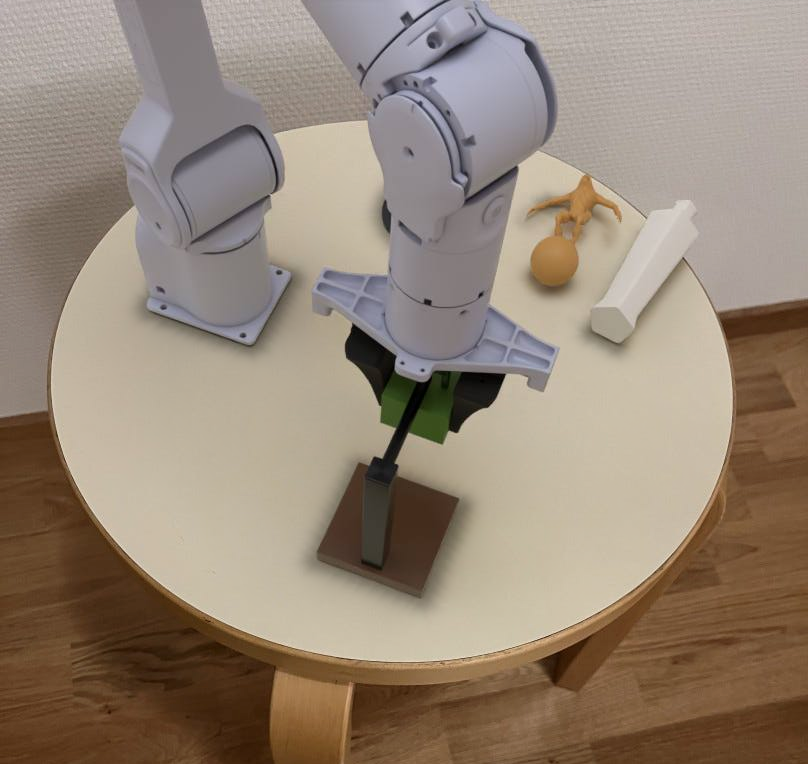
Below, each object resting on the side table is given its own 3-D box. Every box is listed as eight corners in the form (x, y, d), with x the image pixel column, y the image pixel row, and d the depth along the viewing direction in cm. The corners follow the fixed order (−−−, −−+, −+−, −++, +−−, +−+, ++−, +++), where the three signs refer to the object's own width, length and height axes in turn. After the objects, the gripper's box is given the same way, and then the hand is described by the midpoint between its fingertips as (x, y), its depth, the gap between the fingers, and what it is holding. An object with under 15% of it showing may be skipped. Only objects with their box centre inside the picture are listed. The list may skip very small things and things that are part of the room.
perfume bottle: (644, 347, 73) (716, 230, 79) (628, 303, 70) (704, 186, 76) (595, 346, 76) (668, 234, 82) (578, 304, 73) (655, 192, 79)
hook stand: (316, 559, 65) (310, 464, 52) (363, 458, 68) (367, 347, 56) (420, 598, 64) (438, 511, 51) (462, 494, 68) (488, 390, 55)
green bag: (379, 422, 59) (382, 379, 55) (403, 371, 61) (408, 325, 56) (442, 445, 59) (450, 403, 54) (464, 393, 60) (474, 348, 56)
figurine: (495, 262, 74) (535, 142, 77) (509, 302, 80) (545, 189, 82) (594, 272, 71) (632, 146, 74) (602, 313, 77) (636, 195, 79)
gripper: (284, 275, 46) (297, 418, 59) (550, 368, 45) (506, 494, 57) (337, 183, 49) (339, 337, 62) (589, 267, 48) (539, 408, 60)
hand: (422, 407), depth 60 cm, fingers closed on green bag, 4 cm apart
